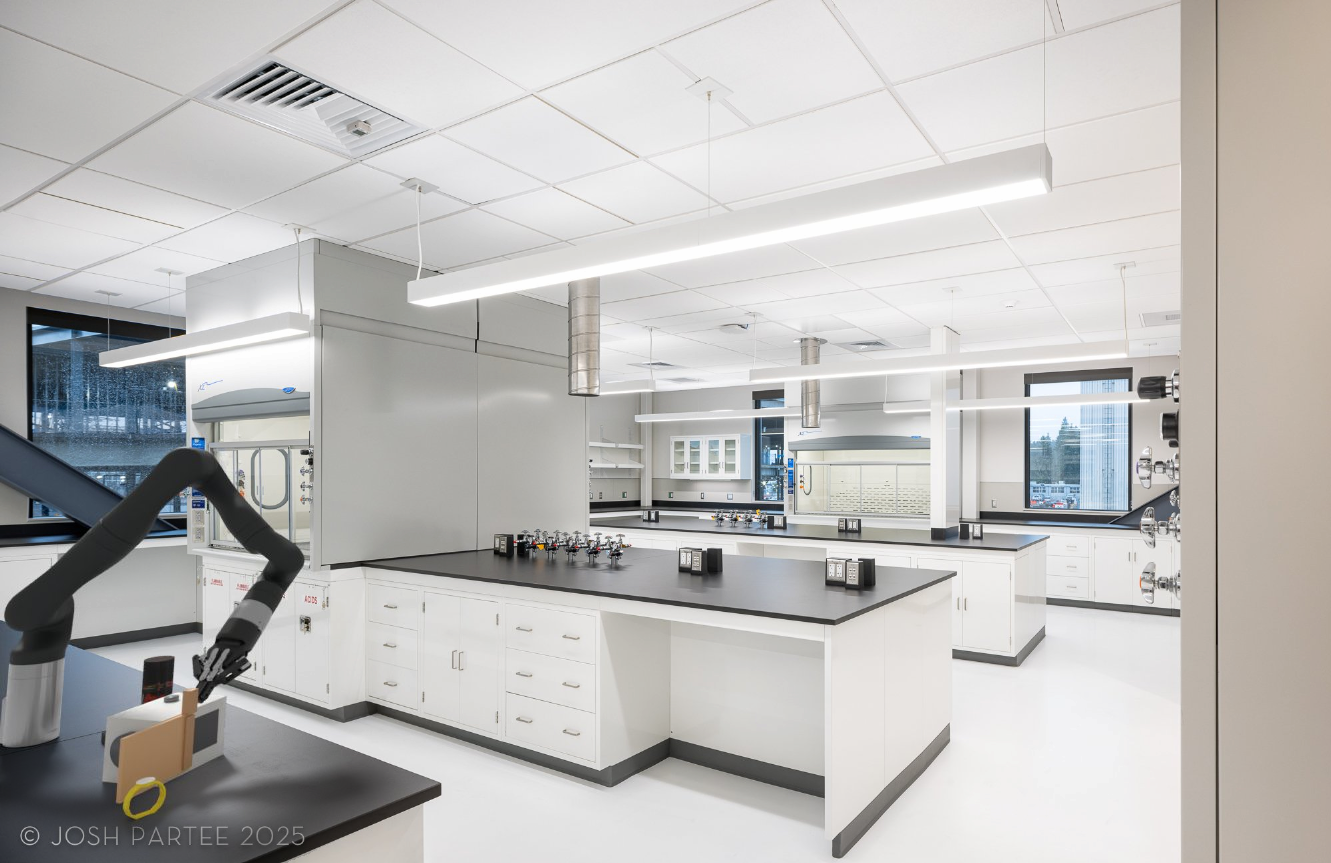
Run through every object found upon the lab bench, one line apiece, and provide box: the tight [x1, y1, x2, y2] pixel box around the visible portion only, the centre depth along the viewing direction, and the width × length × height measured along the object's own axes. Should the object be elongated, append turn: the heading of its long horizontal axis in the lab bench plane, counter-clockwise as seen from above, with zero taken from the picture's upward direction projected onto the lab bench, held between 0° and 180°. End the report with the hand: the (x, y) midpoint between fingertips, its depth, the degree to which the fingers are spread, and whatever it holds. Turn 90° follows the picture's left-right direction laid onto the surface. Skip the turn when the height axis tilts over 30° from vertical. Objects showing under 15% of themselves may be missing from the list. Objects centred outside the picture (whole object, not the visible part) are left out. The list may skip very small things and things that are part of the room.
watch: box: [122, 777, 167, 820], centre depth 121 cm, size 6×3×6 cm, turn 151°
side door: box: [115, 687, 199, 804], centre depth 131 cm, size 2×15×16 cm, turn 171°
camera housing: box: [102, 692, 228, 788], centre depth 140 cm, size 12×18×13 cm
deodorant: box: [140, 655, 176, 705], centre depth 165 cm, size 6×6×15 cm
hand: (196, 701), depth 139 cm, fingers closed
